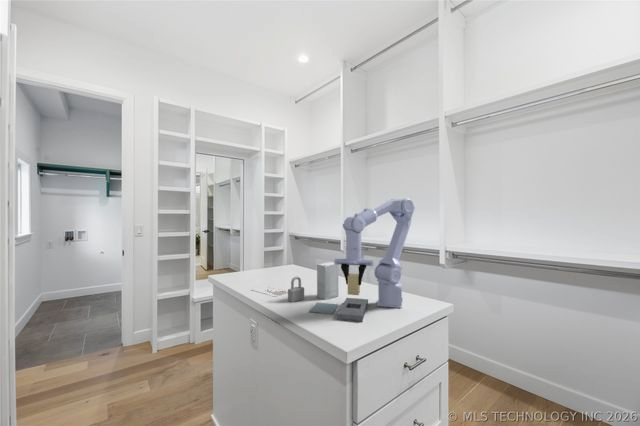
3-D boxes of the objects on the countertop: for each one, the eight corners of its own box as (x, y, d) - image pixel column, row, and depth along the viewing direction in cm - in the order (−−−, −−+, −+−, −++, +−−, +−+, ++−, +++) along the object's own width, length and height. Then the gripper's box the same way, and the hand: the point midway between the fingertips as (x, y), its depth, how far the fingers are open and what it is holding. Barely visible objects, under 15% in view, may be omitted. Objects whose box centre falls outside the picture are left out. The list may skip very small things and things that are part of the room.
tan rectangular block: (359, 292, 109) (359, 274, 109) (358, 295, 105) (358, 276, 105) (349, 291, 110) (349, 273, 110) (347, 294, 106) (347, 275, 106)
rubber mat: (338, 305, 115) (338, 304, 115) (332, 314, 104) (332, 313, 104) (317, 303, 117) (317, 302, 117) (308, 312, 107) (308, 311, 107)
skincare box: (330, 293, 132) (330, 261, 132) (339, 296, 127) (339, 263, 127) (316, 297, 126) (316, 263, 127) (325, 300, 122) (325, 265, 122)
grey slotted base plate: (368, 304, 116) (368, 299, 116) (362, 321, 97) (362, 316, 97) (346, 302, 118) (346, 297, 119) (336, 319, 99) (336, 313, 99)
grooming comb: (290, 292, 134) (290, 291, 134) (274, 297, 127) (274, 296, 127) (265, 286, 146) (265, 285, 146) (249, 291, 138) (249, 289, 138)
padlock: (299, 297, 126) (299, 274, 126) (305, 299, 124) (305, 276, 124) (286, 300, 121) (286, 277, 121) (293, 302, 118) (293, 278, 118)
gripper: (332, 248, 106) (332, 285, 106) (372, 250, 102) (372, 288, 102) (336, 246, 113) (336, 281, 113) (373, 247, 109) (373, 283, 109)
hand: (353, 284), depth 108 cm, fingers closed on tan rectangular block, 4 cm apart
